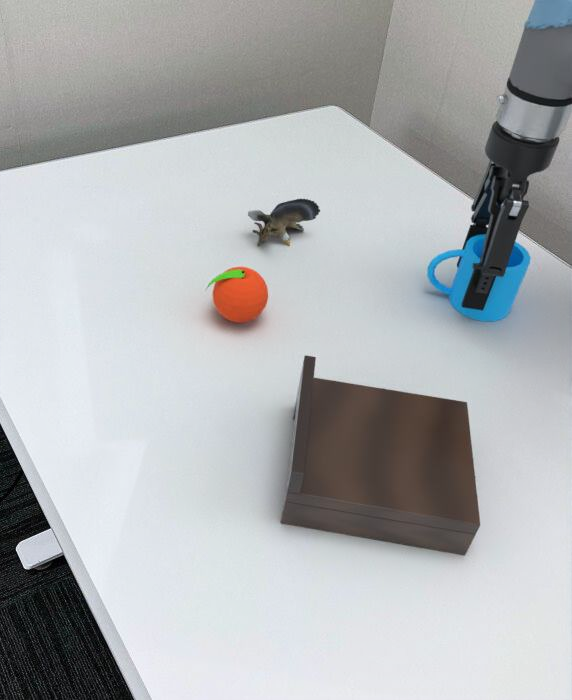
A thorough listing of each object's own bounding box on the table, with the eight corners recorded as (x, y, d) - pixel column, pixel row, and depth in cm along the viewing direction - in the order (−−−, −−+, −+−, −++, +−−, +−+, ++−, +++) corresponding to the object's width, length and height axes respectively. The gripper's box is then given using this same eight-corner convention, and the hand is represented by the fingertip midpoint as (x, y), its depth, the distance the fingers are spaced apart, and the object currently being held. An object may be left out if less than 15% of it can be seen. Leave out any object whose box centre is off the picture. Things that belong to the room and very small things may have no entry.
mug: (507, 289, 107) (527, 240, 101) (512, 326, 101) (533, 276, 95) (420, 273, 108) (435, 224, 103) (419, 309, 102) (435, 259, 97)
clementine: (208, 337, 95) (212, 291, 90) (197, 301, 100) (200, 256, 95) (271, 331, 97) (277, 286, 92) (257, 296, 102) (263, 252, 97)
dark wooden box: (454, 432, 86) (475, 382, 81) (465, 555, 75) (490, 505, 69) (294, 406, 88) (304, 354, 82) (280, 523, 76) (291, 472, 70)
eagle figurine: (288, 258, 107) (329, 224, 110) (266, 212, 104) (309, 179, 108) (254, 259, 113) (294, 227, 117) (233, 216, 110) (275, 185, 114)
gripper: (485, 85, 96) (437, 238, 111) (504, 168, 80) (445, 332, 95) (546, 94, 95) (490, 246, 110) (577, 178, 80) (507, 342, 95)
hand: (469, 286), depth 103 cm, fingers closed on mug, 8 cm apart
